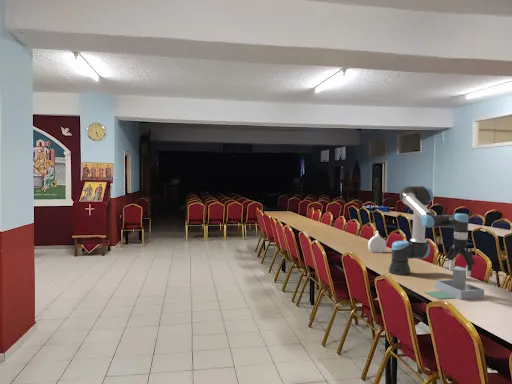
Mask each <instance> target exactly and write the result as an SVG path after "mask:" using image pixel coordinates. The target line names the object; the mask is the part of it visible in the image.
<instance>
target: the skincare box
mask: <svg viewBox="0 0 512 384" xmlns="http://www.w3.org/2000/svg"><path fill="white" fill-rule="evenodd" d="M451 280H452V287H454V288H456V289H459V290H461V291H464V290H465V283H467V276H466V267H463V266H458V265H454V268H453V270H452V279H451Z"/></svg>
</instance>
